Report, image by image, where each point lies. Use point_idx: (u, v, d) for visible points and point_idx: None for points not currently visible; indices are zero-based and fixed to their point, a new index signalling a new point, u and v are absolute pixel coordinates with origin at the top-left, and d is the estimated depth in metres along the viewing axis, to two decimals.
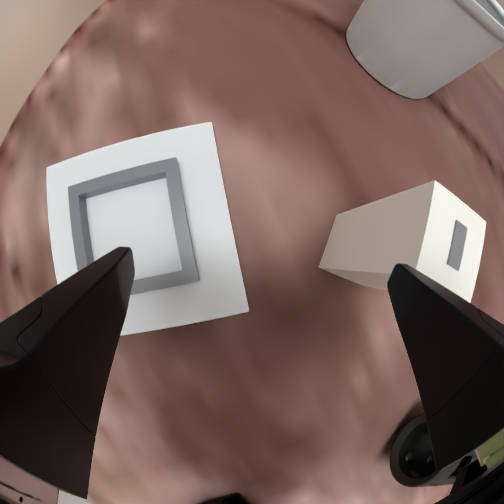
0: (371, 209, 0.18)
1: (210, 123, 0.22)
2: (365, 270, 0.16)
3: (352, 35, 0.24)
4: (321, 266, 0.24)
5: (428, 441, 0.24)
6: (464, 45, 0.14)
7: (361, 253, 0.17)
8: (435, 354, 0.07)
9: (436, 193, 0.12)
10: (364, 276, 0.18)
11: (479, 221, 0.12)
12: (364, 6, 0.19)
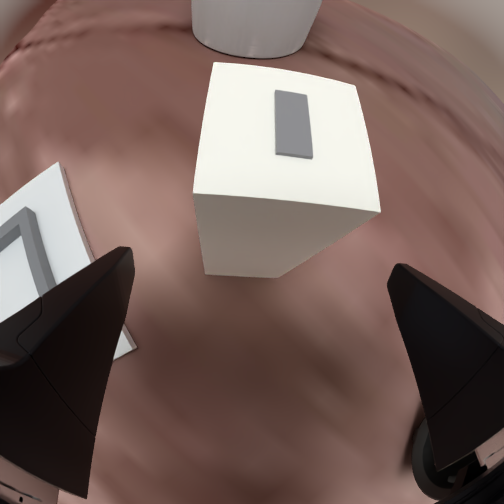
0: None
1: (57, 163, 0.18)
2: (200, 241, 0.11)
3: (193, 24, 0.23)
4: (205, 271, 0.18)
5: None
6: None
7: None
8: (435, 354, 0.07)
9: (219, 74, 0.08)
10: (228, 256, 0.13)
11: (338, 86, 0.08)
12: None
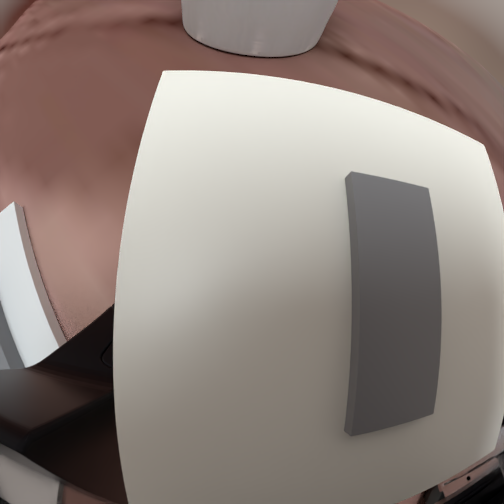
0: None
1: (13, 204, 0.13)
2: None
3: (183, 16, 0.18)
4: None
5: None
6: None
7: None
8: None
9: (175, 108, 0.03)
10: None
11: (465, 148, 0.03)
12: None
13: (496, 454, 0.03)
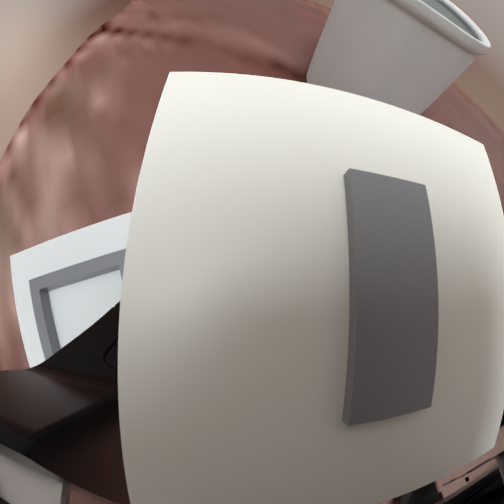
0: None
1: None
2: None
3: (312, 78, 0.26)
4: None
5: None
6: (433, 68, 0.16)
7: None
8: None
9: (181, 108, 0.03)
10: None
11: (463, 147, 0.03)
12: (321, 43, 0.22)
13: (495, 455, 0.03)
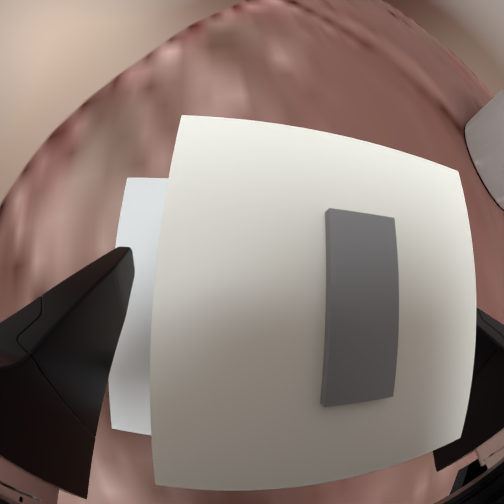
0: None
1: None
2: None
3: (474, 136, 0.22)
4: None
5: None
6: None
7: None
8: None
9: (193, 152, 0.03)
10: None
11: (437, 176, 0.04)
12: (494, 110, 0.19)
13: None
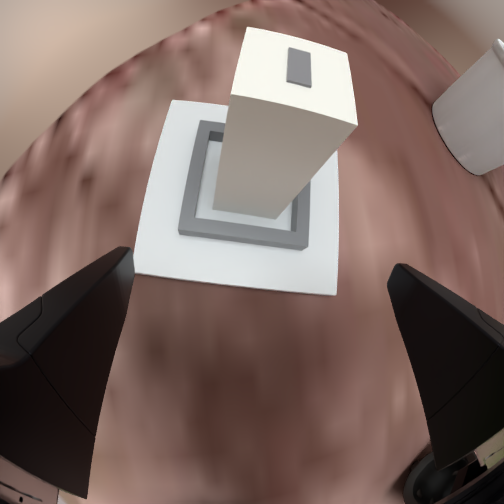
0: None
1: None
2: (220, 155, 0.14)
3: (439, 108, 0.29)
4: (213, 205, 0.21)
5: (435, 482, 0.19)
6: None
7: None
8: (435, 354, 0.07)
9: (251, 34, 0.10)
10: (238, 177, 0.16)
11: (334, 51, 0.11)
12: (455, 87, 0.26)
13: None
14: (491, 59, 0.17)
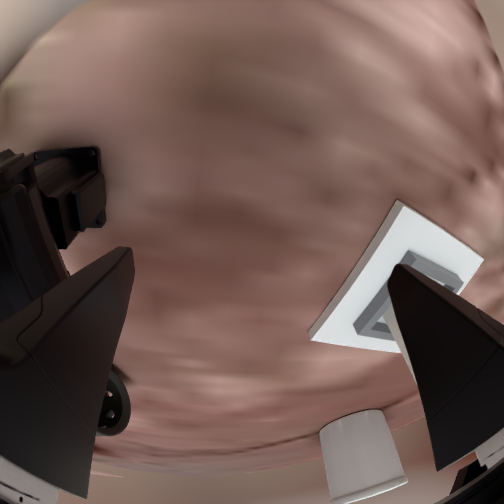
0: None
1: None
2: None
3: (379, 416, 0.42)
4: None
5: None
6: (344, 477, 0.34)
7: None
8: (435, 354, 0.07)
9: None
10: None
11: None
12: (388, 434, 0.39)
13: None
14: (398, 471, 0.32)
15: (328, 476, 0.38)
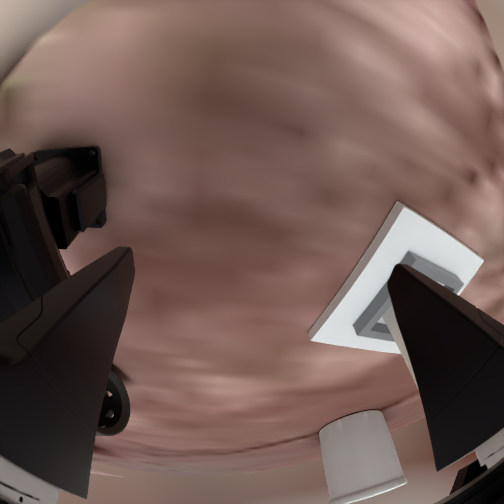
0: None
1: None
2: None
3: (378, 417, 0.42)
4: None
5: None
6: (344, 478, 0.34)
7: None
8: (435, 354, 0.07)
9: None
10: None
11: None
12: (388, 435, 0.39)
13: None
14: (397, 472, 0.32)
15: (327, 476, 0.38)
